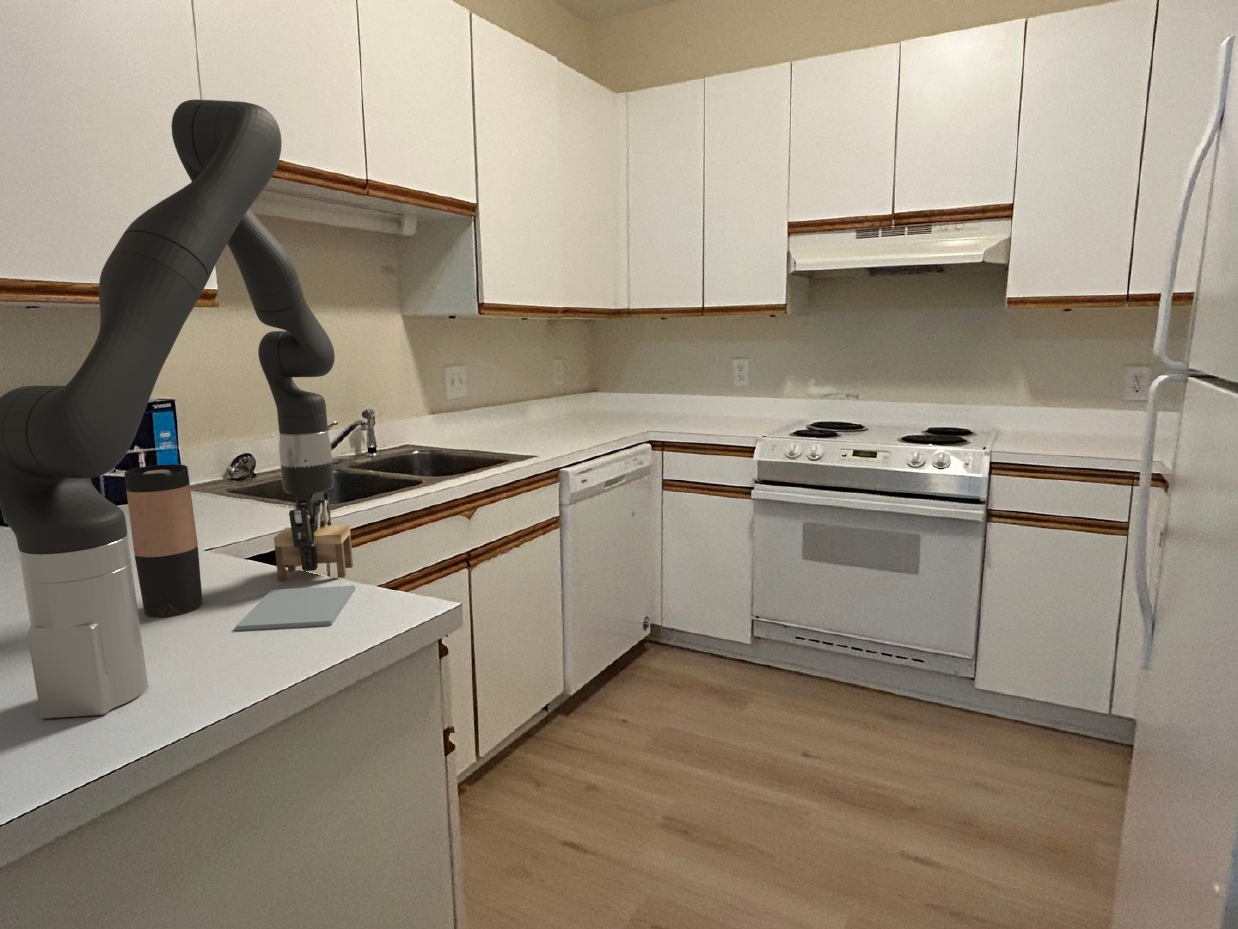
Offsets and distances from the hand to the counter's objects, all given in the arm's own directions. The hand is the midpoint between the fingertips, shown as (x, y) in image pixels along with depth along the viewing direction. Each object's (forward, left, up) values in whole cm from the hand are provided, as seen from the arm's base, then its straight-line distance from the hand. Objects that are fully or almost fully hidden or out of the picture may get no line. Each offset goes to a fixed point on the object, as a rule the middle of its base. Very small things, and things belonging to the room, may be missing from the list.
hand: (315, 563), depth 122 cm
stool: (0, 0, -2) cm, 2 cm away
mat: (-16, -2, -2) cm, 16 cm away
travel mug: (-13, +16, -2) cm, 21 cm away
